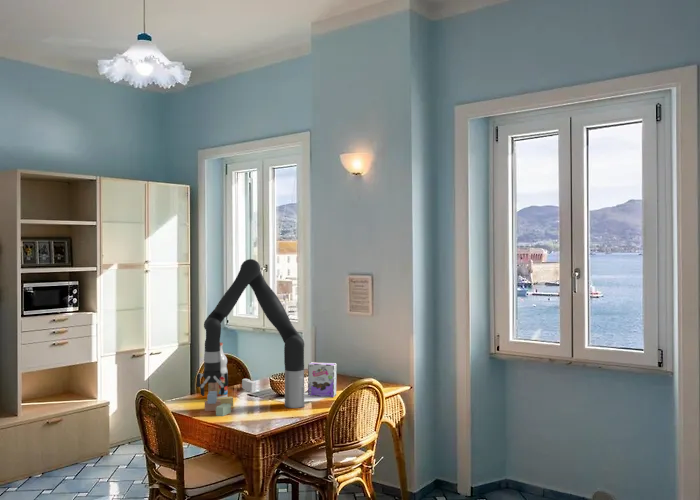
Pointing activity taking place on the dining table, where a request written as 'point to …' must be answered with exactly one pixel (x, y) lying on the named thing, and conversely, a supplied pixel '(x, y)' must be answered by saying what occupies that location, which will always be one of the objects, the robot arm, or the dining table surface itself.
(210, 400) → the slate brick
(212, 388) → the fruit juice
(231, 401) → the ochre brick
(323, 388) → the candy box
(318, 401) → the dining table surface
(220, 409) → the sage brick
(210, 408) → the terracotta brick
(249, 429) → the dining table surface
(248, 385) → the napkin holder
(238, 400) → the dining table surface
